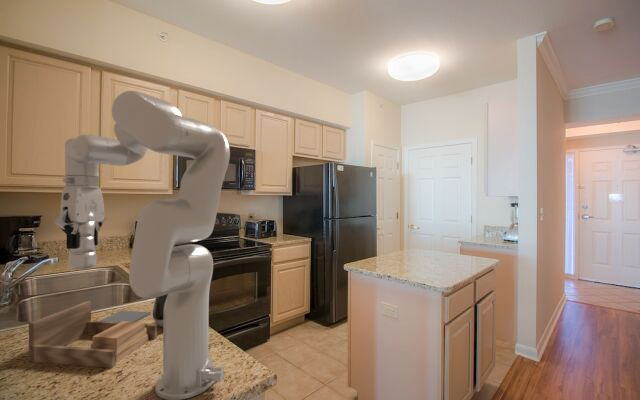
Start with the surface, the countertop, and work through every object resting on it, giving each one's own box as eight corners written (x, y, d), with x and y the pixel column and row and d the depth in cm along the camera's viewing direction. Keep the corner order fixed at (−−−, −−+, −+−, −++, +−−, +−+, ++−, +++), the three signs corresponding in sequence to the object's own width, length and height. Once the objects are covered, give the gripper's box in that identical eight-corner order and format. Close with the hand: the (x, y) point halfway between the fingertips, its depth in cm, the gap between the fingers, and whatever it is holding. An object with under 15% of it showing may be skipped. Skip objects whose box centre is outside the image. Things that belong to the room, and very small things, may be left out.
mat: (150, 313, 113) (150, 312, 113) (125, 327, 101) (125, 325, 101) (121, 312, 114) (121, 310, 114) (93, 325, 102) (93, 323, 102)
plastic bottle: (79, 272, 83) (78, 198, 83) (62, 270, 85) (61, 198, 85) (102, 267, 89) (102, 198, 89) (86, 266, 91) (85, 198, 91)
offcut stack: (148, 341, 91) (148, 320, 91) (116, 362, 79) (116, 339, 79) (123, 339, 92) (123, 319, 92) (88, 360, 80) (88, 337, 80)
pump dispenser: (165, 333, 96) (165, 285, 96) (146, 326, 101) (146, 280, 101) (193, 322, 105) (193, 278, 105) (174, 316, 110) (174, 274, 110)
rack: (156, 337, 93) (156, 304, 93) (112, 367, 76) (112, 327, 76) (86, 332, 96) (86, 301, 96) (28, 361, 80) (28, 322, 80)
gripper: (65, 180, 78) (65, 252, 78) (117, 184, 95) (118, 242, 95) (39, 181, 79) (39, 251, 79) (96, 184, 96) (96, 242, 96)
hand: (82, 246), depth 87 cm, fingers closed on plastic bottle, 5 cm apart
